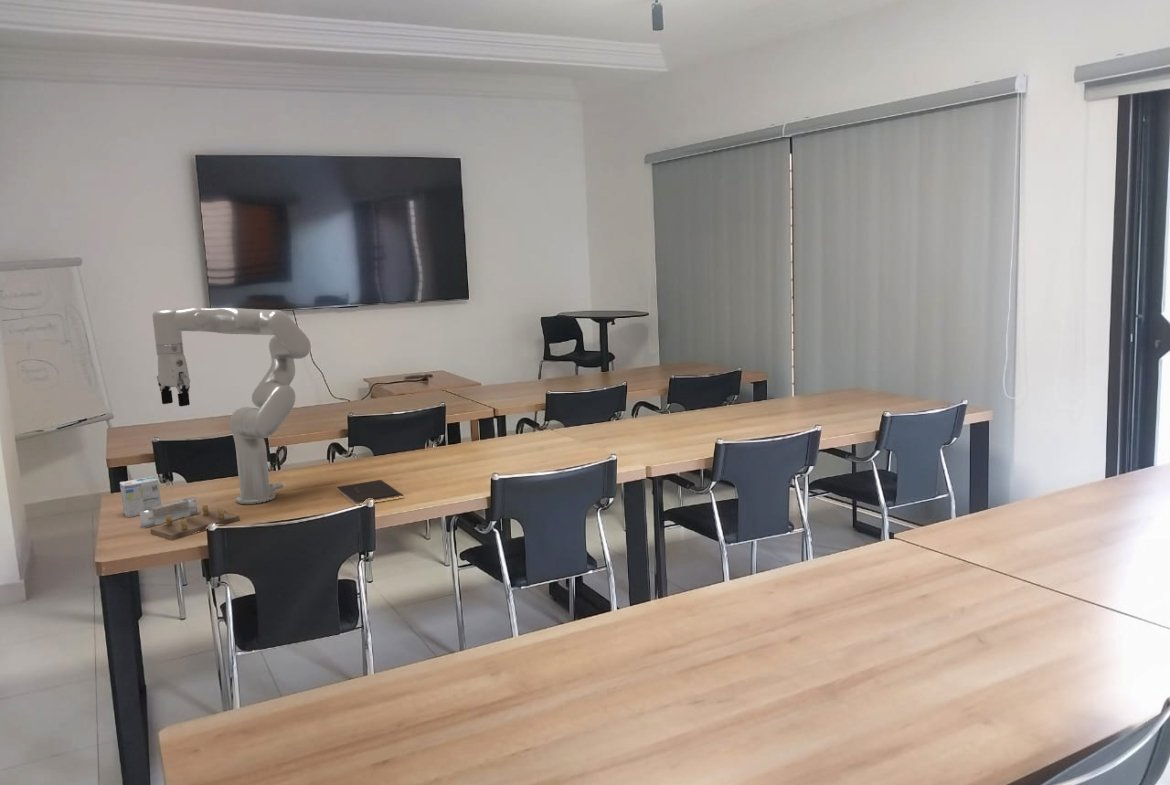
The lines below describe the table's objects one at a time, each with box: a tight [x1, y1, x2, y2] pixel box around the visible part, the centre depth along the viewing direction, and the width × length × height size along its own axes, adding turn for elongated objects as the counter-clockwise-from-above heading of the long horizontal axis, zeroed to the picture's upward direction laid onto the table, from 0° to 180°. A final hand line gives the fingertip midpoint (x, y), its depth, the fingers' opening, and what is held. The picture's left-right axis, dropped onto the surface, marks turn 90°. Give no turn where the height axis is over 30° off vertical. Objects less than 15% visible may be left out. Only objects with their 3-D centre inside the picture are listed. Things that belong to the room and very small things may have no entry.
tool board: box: [150, 504, 241, 541], centre depth 270 cm, size 22×12×4 cm, turn 144°
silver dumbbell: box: [139, 496, 199, 528], centre depth 279 cm, size 18×4×5 cm, turn 144°
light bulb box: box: [119, 475, 162, 518], centre depth 288 cm, size 11×7×11 cm, turn 129°
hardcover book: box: [336, 479, 404, 505], centre depth 299 cm, size 16×23×2 cm
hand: (175, 404), depth 274 cm, fingers open, 9 cm apart
